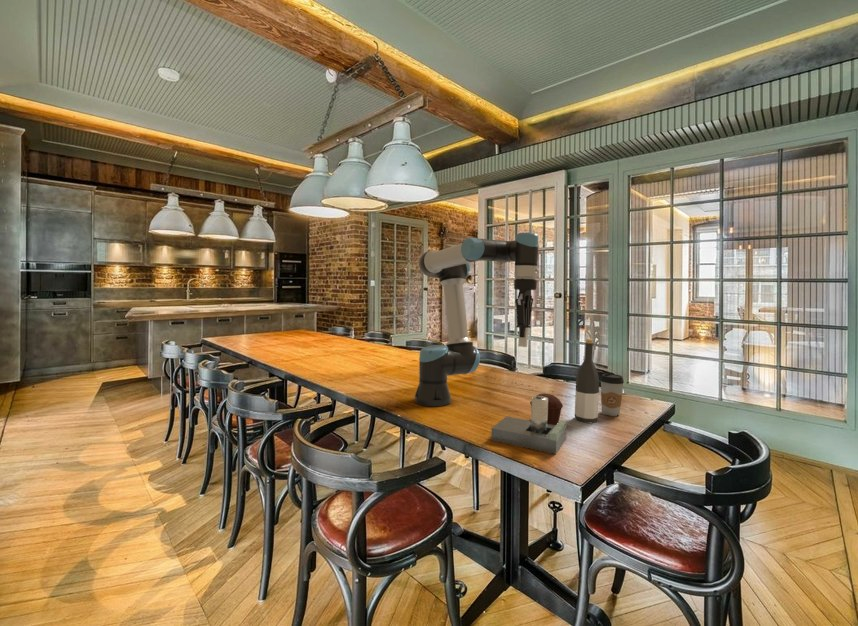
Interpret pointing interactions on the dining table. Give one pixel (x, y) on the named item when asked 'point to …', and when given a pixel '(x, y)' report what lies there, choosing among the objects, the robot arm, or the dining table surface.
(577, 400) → the wine bottle
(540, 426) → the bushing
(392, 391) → the dining table surface
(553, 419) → the muffin
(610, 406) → the coffee cup
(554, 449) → the jig
